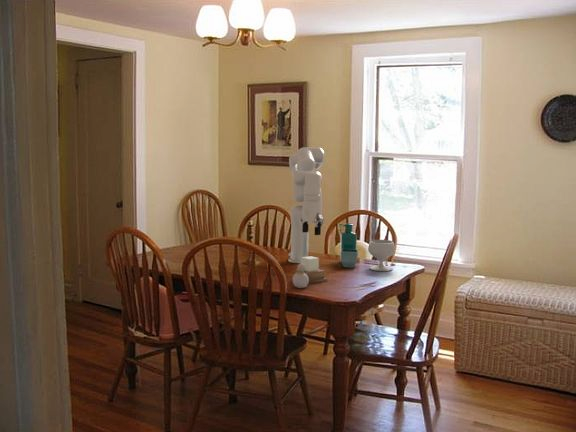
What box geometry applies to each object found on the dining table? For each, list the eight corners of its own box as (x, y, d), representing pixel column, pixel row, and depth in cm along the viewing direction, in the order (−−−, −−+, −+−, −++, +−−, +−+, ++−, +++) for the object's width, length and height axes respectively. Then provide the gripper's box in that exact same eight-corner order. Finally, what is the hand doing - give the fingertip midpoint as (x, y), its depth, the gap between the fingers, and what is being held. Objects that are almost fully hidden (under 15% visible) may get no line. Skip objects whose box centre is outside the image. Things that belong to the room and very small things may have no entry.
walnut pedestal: (292, 279, 298) (292, 269, 298) (311, 276, 305) (312, 266, 305) (307, 284, 289) (307, 273, 288) (327, 281, 295) (327, 270, 295)
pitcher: (355, 261, 347) (356, 222, 345) (356, 264, 339) (357, 224, 336) (337, 260, 347) (338, 222, 345) (338, 263, 339) (339, 224, 336)
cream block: (301, 269, 297) (301, 257, 296) (311, 268, 301) (311, 256, 300) (308, 271, 292) (308, 259, 292) (318, 270, 296) (318, 258, 295)
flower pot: (356, 268, 326) (357, 252, 325) (340, 268, 327) (340, 251, 326) (358, 265, 334) (358, 249, 333) (341, 264, 336) (342, 248, 335)
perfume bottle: (304, 285, 286) (304, 259, 285) (313, 289, 278) (314, 263, 276) (289, 286, 283) (289, 260, 282) (298, 291, 275) (299, 264, 273)
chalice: (386, 266, 334) (387, 238, 332) (399, 271, 321) (400, 242, 319) (363, 267, 330) (363, 239, 328) (374, 272, 316) (375, 243, 315)
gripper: (295, 196, 299) (294, 231, 301) (316, 200, 285) (316, 236, 287) (307, 196, 303) (306, 230, 306) (329, 199, 289) (328, 235, 292)
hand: (311, 233), depth 296 cm, fingers open, 9 cm apart
